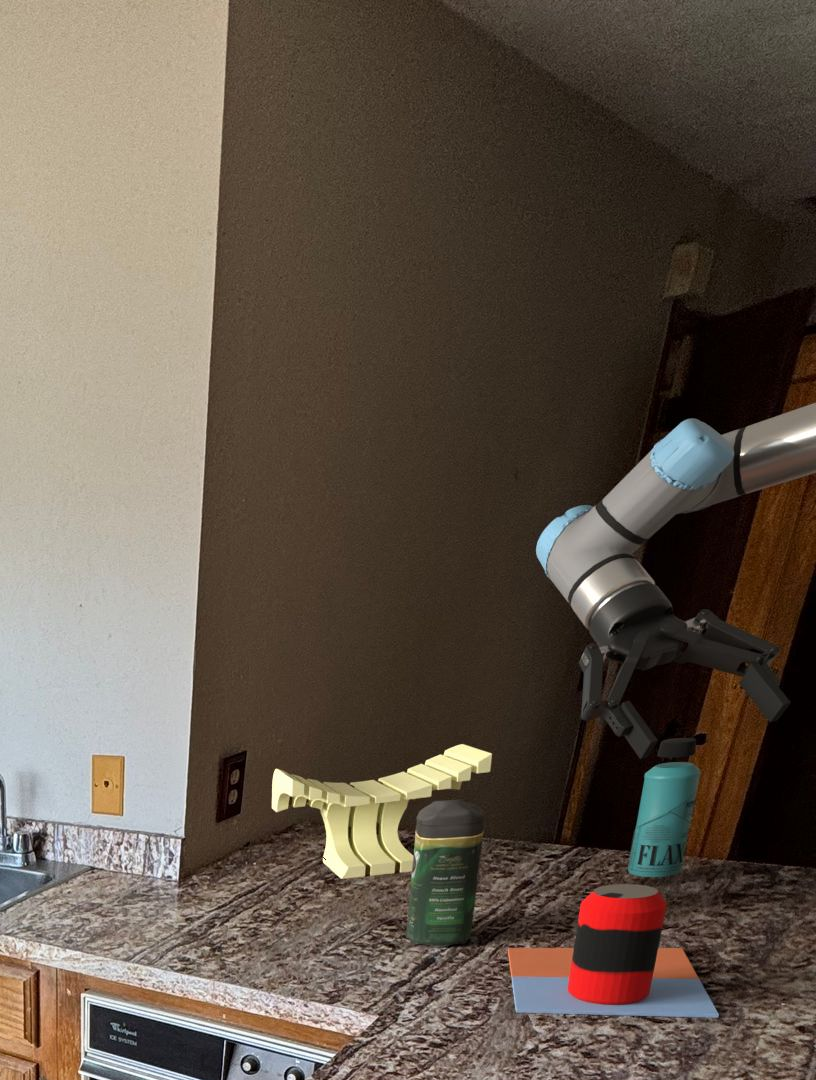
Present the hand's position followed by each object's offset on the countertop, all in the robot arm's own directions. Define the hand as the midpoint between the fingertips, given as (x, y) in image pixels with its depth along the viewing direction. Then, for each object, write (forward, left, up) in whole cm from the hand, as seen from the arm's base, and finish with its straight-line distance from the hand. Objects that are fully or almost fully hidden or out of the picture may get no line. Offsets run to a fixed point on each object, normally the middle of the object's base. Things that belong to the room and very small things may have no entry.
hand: (714, 731), depth 112 cm
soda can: (+8, +18, -25) cm, 32 cm away
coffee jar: (+25, -4, -26) cm, 36 cm away
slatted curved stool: (+36, -46, -26) cm, 64 cm away
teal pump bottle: (-2, -30, -26) cm, 40 cm away
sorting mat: (+8, +13, -26) cm, 30 cm away
